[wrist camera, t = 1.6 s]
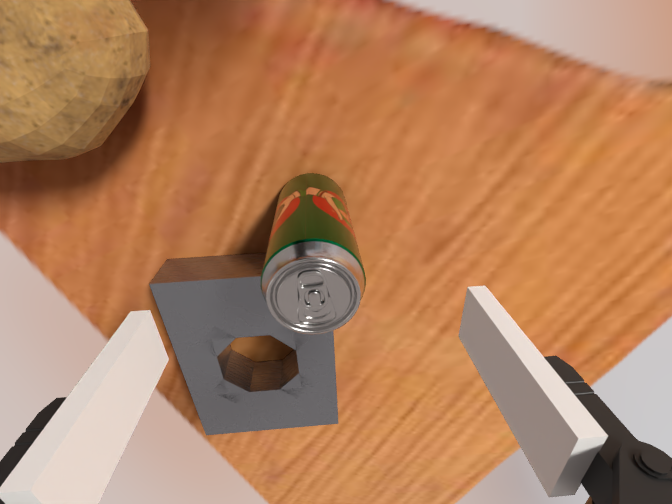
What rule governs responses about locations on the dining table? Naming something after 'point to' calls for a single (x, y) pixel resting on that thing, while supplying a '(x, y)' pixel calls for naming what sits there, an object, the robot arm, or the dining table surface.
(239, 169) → the dining table surface
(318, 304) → the soda can
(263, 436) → the dining table surface
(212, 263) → the plate
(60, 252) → the dining table surface
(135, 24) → the potato
